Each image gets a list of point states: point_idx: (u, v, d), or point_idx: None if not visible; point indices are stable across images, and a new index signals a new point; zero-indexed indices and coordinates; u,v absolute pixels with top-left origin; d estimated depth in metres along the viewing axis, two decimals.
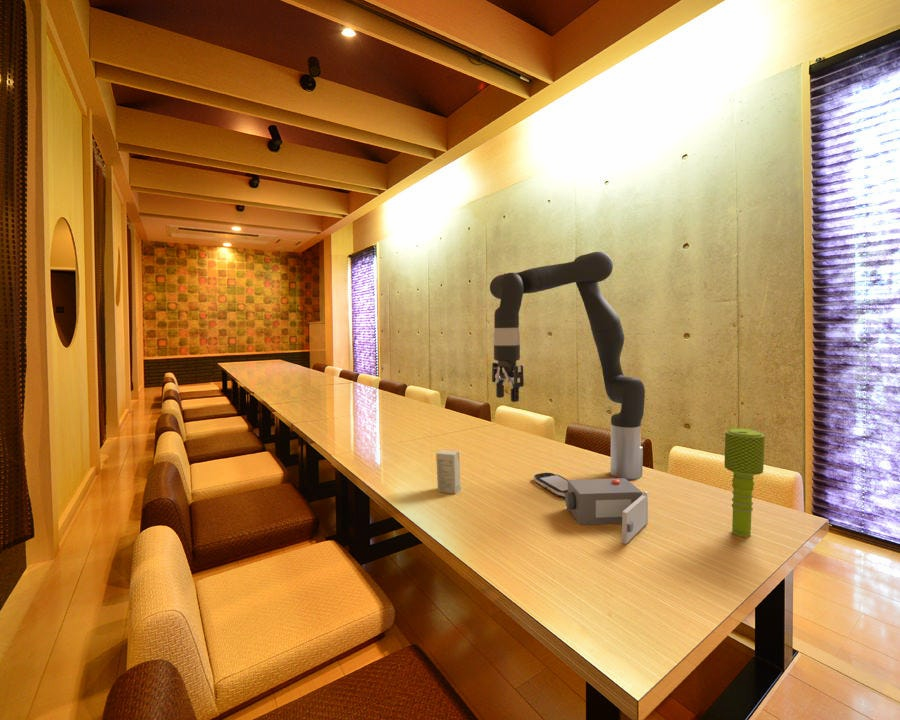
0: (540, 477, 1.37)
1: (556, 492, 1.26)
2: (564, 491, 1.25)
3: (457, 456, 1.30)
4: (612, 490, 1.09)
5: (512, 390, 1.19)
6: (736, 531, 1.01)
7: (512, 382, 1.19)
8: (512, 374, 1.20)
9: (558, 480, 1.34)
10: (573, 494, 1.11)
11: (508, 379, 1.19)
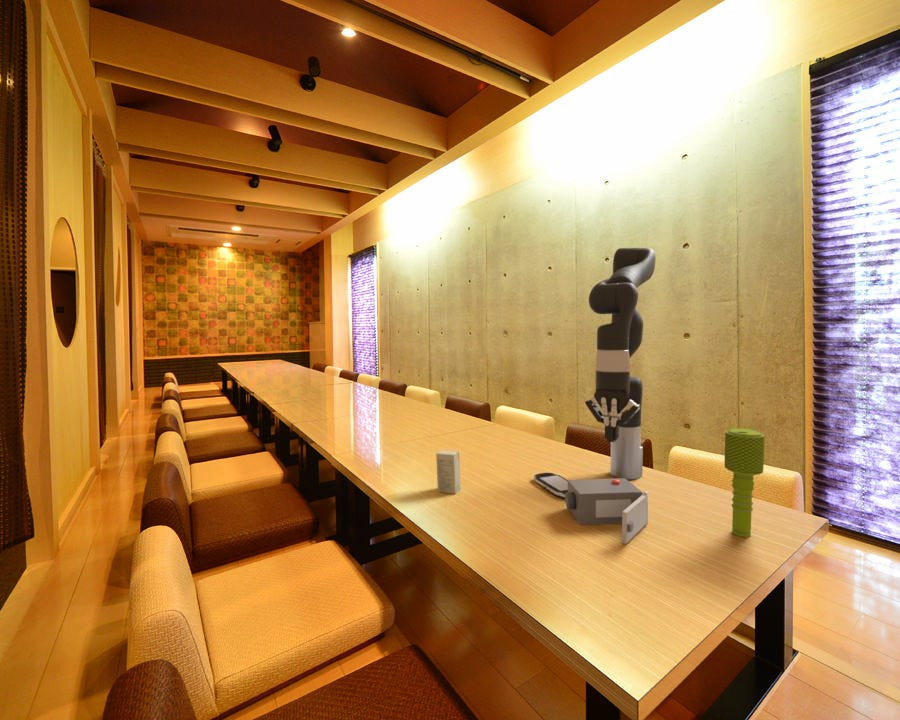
0: (540, 477, 1.37)
1: (554, 492, 1.26)
2: (562, 491, 1.25)
3: (457, 456, 1.30)
4: (612, 490, 1.09)
5: None
6: (736, 531, 1.01)
7: None
8: None
9: (558, 480, 1.34)
10: (573, 494, 1.11)
11: None
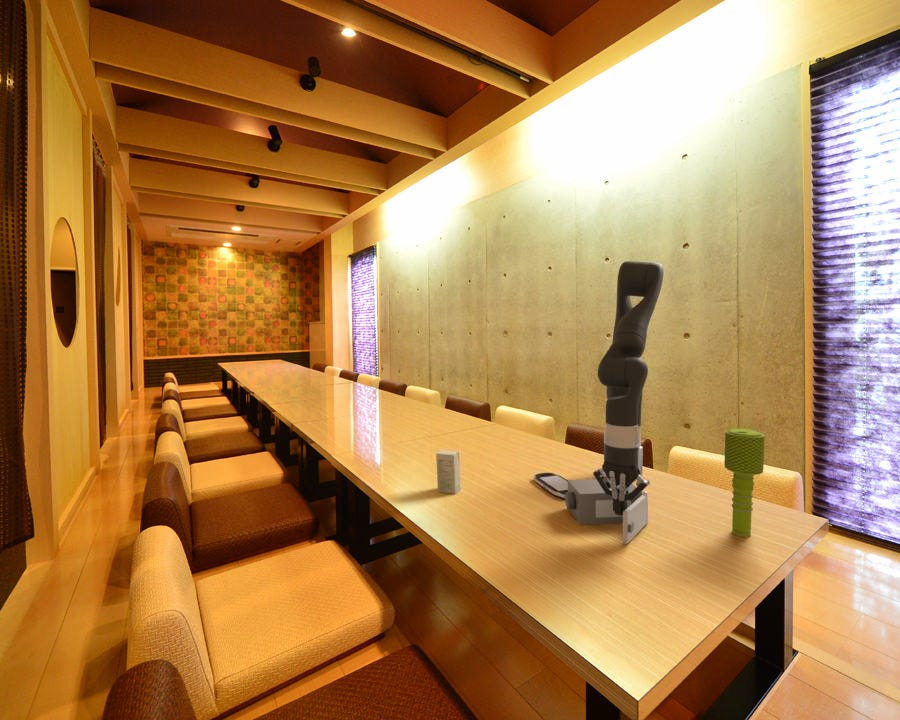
0: (540, 477, 1.37)
1: (553, 492, 1.26)
2: (561, 491, 1.25)
3: (457, 456, 1.30)
4: None
5: None
6: (736, 531, 1.01)
7: None
8: None
9: (558, 480, 1.34)
10: (573, 494, 1.11)
11: None
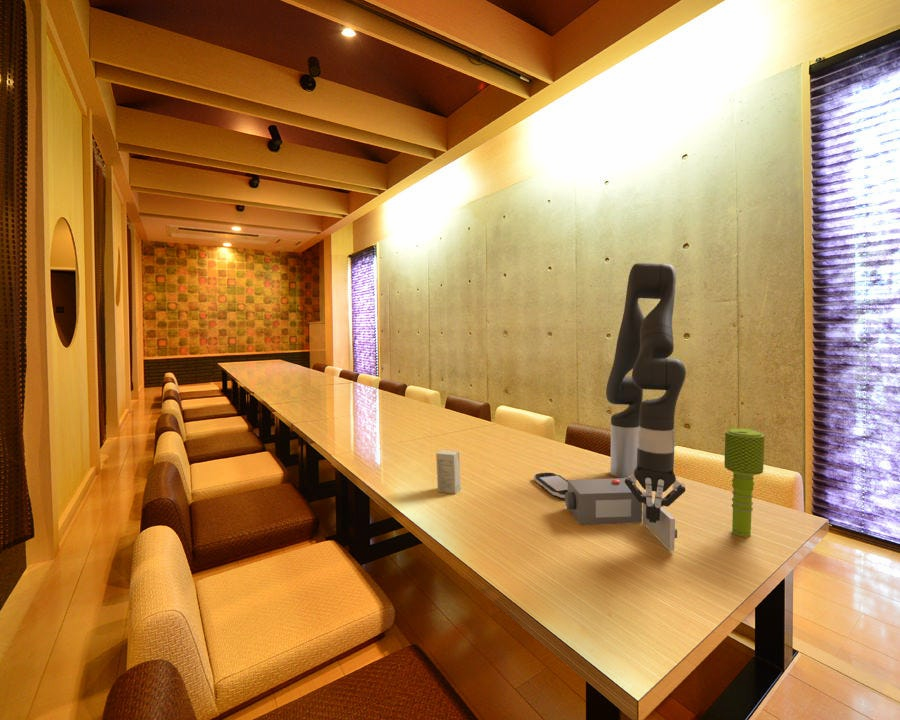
0: (540, 477, 1.37)
1: (551, 492, 1.26)
2: (559, 491, 1.25)
3: (457, 456, 1.30)
4: (612, 490, 1.09)
5: None
6: (736, 531, 1.01)
7: (646, 496, 0.98)
8: None
9: (557, 480, 1.34)
10: (573, 494, 1.11)
11: None
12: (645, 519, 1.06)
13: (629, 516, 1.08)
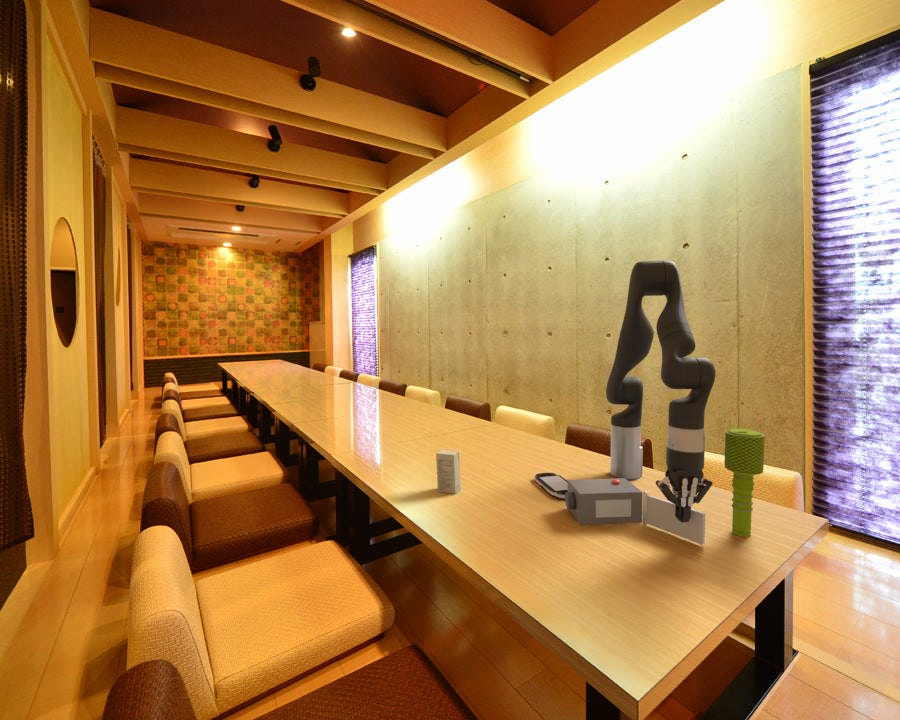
0: (540, 477, 1.38)
1: (550, 492, 1.26)
2: (558, 491, 1.25)
3: (457, 456, 1.30)
4: (612, 490, 1.09)
5: None
6: (736, 531, 1.01)
7: (674, 497, 0.97)
8: None
9: (557, 480, 1.34)
10: (573, 494, 1.11)
11: (673, 490, 0.98)
12: (648, 519, 1.06)
13: (629, 516, 1.08)
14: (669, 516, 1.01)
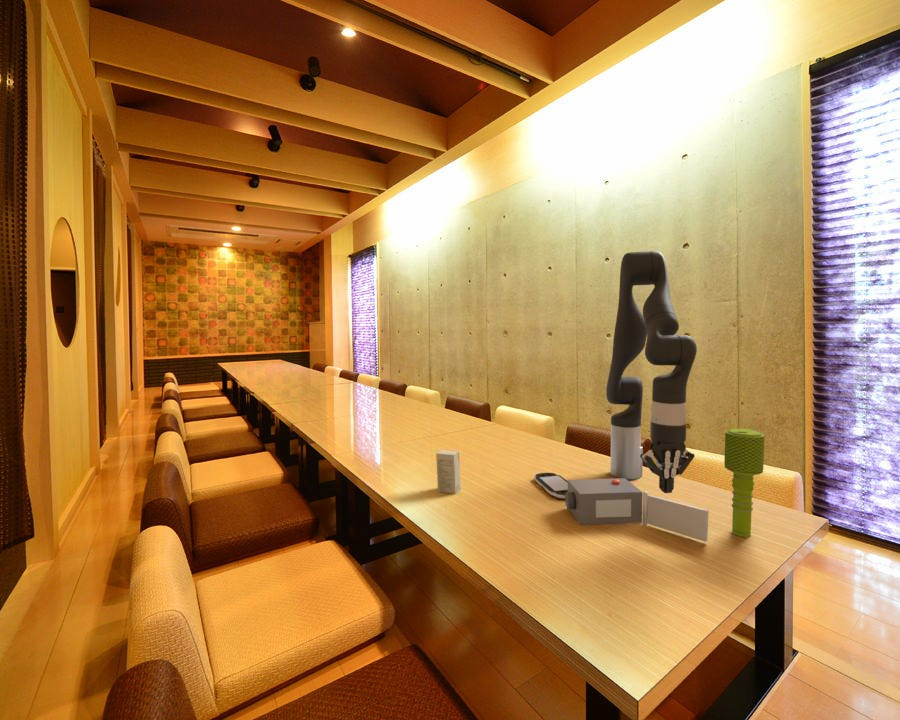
0: (540, 477, 1.38)
1: (549, 492, 1.26)
2: (557, 491, 1.25)
3: (457, 456, 1.30)
4: (612, 490, 1.09)
5: None
6: (736, 531, 1.01)
7: (658, 469, 1.01)
8: None
9: (557, 480, 1.34)
10: (573, 494, 1.11)
11: (657, 463, 1.02)
12: (649, 519, 1.06)
13: (629, 516, 1.08)
14: (671, 515, 1.02)
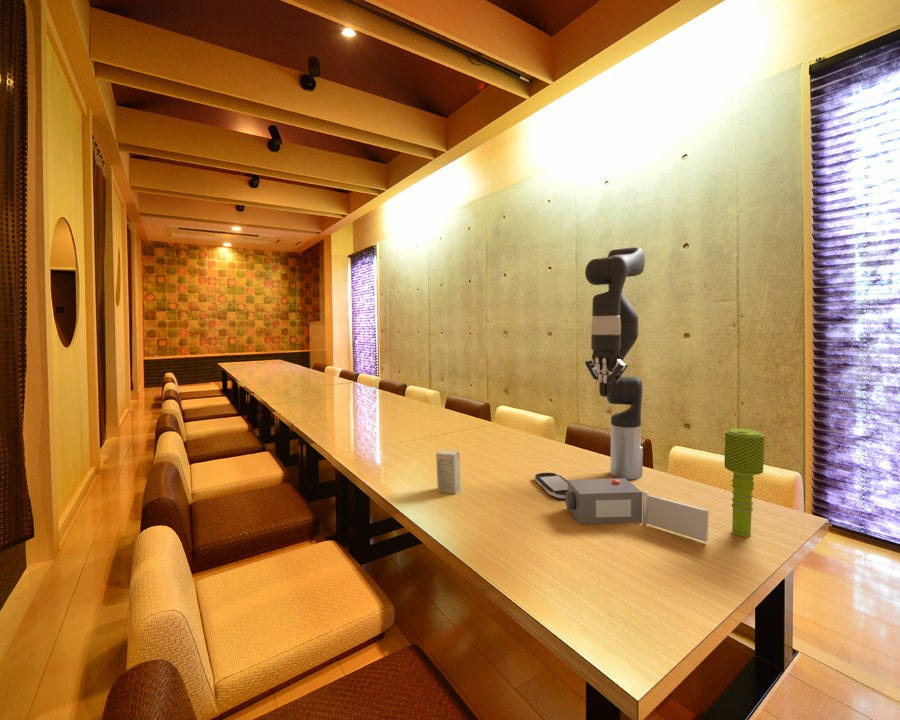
0: (540, 477, 1.38)
1: (548, 492, 1.26)
2: (556, 491, 1.25)
3: (457, 456, 1.30)
4: (612, 490, 1.09)
5: None
6: (736, 531, 1.01)
7: None
8: None
9: (557, 480, 1.34)
10: (573, 494, 1.11)
11: None
12: (649, 519, 1.06)
13: (629, 516, 1.08)
14: (671, 515, 1.02)
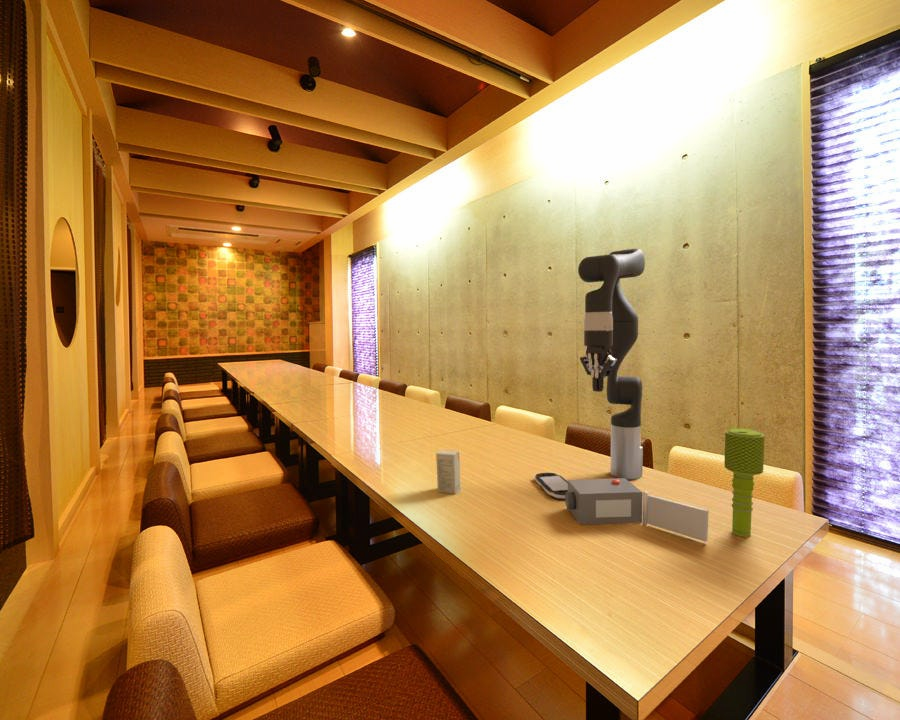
0: (540, 477, 1.38)
1: (547, 491, 1.26)
2: (555, 491, 1.25)
3: (457, 456, 1.30)
4: (612, 490, 1.09)
5: None
6: (736, 531, 1.01)
7: None
8: None
9: (557, 480, 1.34)
10: (573, 494, 1.11)
11: None
12: (649, 519, 1.06)
13: (629, 516, 1.08)
14: (671, 515, 1.02)
